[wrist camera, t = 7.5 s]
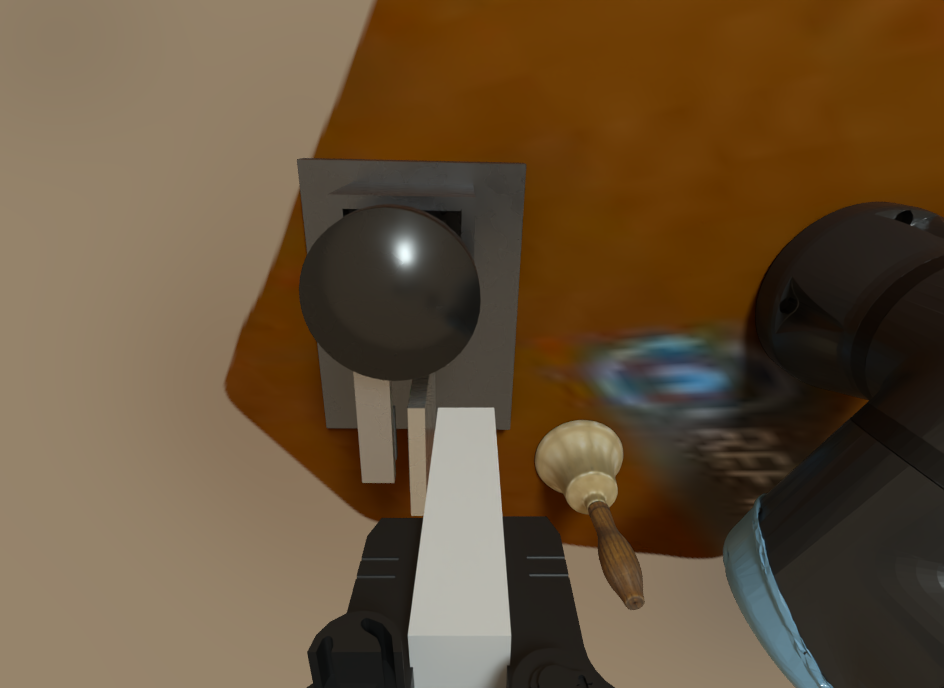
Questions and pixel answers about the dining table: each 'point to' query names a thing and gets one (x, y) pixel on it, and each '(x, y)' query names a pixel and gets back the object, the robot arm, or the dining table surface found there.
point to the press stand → (498, 265)
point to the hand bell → (593, 494)
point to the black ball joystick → (388, 310)
